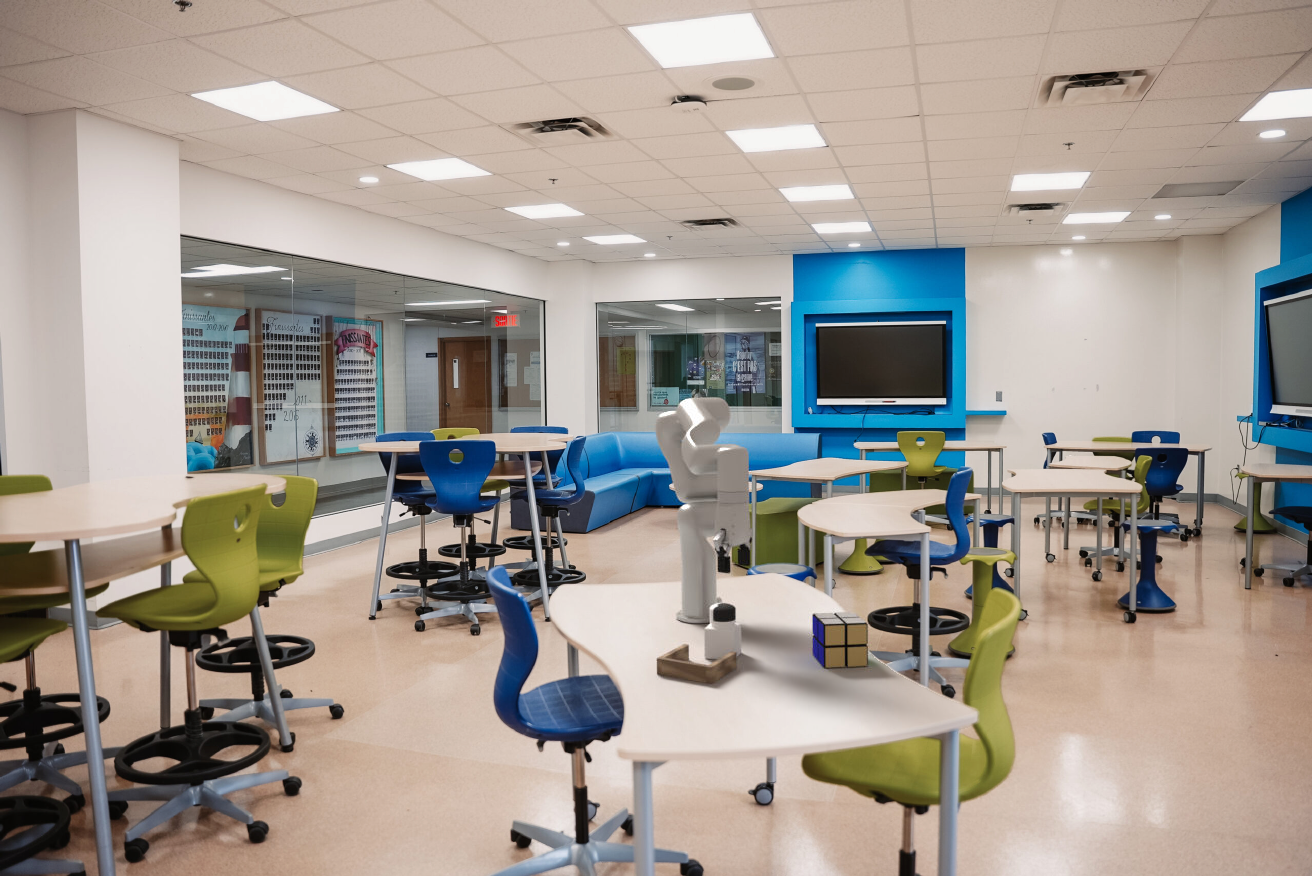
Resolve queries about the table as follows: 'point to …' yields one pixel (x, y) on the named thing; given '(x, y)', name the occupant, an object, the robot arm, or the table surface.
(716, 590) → the robot arm
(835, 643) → the puzzle cube
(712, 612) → the medicine bottle
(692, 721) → the table surface
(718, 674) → the bay
